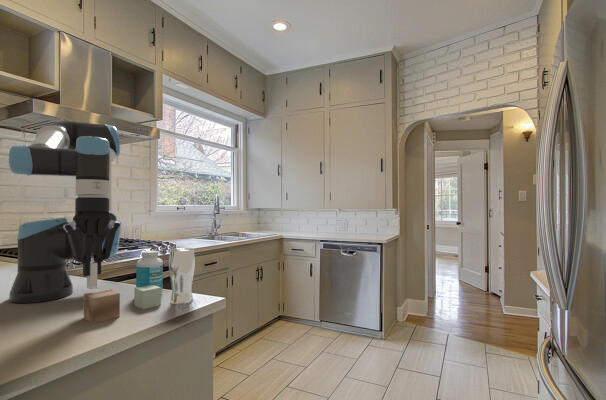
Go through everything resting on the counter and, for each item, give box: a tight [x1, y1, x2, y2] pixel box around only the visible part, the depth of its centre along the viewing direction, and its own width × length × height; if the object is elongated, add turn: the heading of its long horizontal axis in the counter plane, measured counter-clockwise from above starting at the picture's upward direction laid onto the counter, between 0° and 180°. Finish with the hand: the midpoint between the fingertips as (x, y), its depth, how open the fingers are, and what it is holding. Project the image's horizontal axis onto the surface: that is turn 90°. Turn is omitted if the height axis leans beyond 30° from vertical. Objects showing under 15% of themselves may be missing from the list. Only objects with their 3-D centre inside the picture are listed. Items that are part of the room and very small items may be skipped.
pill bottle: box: [135, 250, 164, 295], centre depth 103 cm, size 8×7×14 cm
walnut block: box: [83, 288, 121, 324], centre depth 84 cm, size 6×6×6 cm
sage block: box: [133, 285, 162, 310], centre depth 94 cm, size 5×5×5 cm
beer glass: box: [168, 247, 196, 306], centre depth 97 cm, size 7×7×15 cm
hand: (92, 287), depth 87 cm, fingers closed
